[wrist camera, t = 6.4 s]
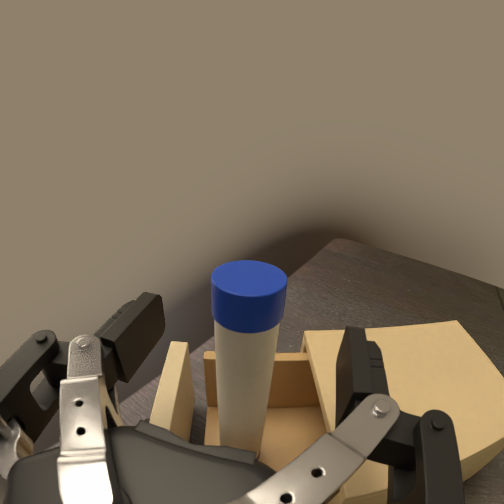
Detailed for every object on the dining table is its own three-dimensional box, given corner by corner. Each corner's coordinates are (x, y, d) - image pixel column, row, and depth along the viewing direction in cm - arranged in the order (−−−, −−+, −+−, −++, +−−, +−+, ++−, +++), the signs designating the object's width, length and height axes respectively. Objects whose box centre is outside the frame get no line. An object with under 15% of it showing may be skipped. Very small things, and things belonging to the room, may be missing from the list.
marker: (230, 475, 14) (230, 303, 9) (212, 445, 17) (200, 266, 11) (267, 460, 16) (302, 285, 10) (248, 432, 18) (263, 255, 12)
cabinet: (306, 531, 11) (346, 498, 8) (288, 402, 23) (304, 330, 20) (469, 478, 12) (532, 418, 9) (423, 385, 24) (456, 319, 20)
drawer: (144, 515, 11) (109, 482, 9) (167, 397, 22) (154, 339, 19) (368, 510, 12) (414, 473, 9) (337, 398, 22) (358, 342, 20)
